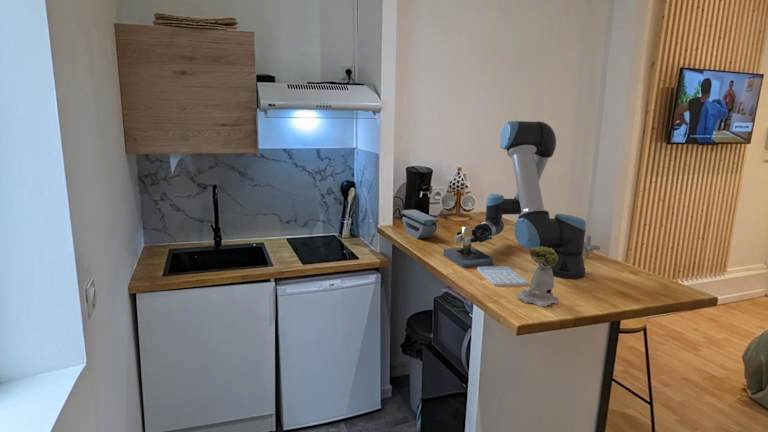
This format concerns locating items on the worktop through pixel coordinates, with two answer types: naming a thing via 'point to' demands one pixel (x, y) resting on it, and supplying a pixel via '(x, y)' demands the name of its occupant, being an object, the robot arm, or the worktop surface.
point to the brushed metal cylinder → (465, 234)
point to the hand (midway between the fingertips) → (460, 240)
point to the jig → (468, 257)
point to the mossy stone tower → (541, 278)
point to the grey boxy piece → (419, 224)
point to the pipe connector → (589, 247)
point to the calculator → (502, 276)
